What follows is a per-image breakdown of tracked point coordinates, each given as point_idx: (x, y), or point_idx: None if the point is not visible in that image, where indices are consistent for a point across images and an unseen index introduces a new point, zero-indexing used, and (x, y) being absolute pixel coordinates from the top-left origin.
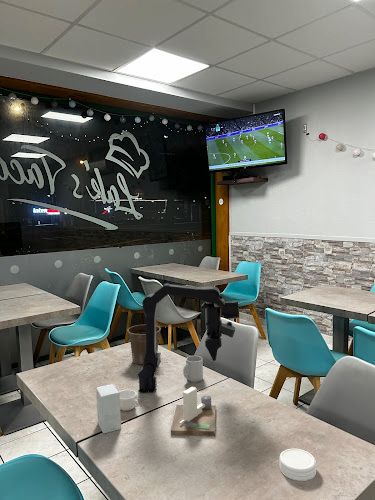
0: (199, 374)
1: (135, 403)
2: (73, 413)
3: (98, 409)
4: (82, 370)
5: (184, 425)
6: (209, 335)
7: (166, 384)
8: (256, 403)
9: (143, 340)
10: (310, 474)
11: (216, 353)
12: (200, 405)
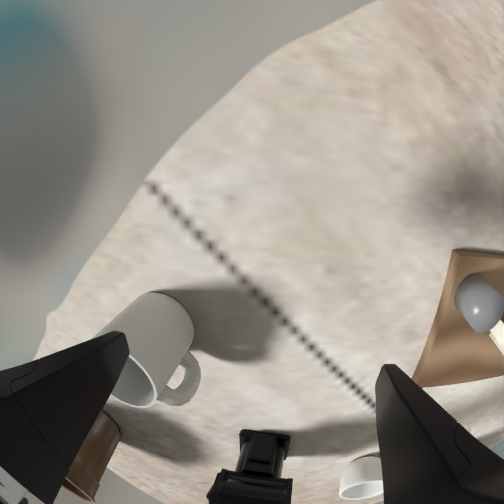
0: (172, 322)
1: (378, 463)
2: (358, 500)
3: None
4: (180, 494)
5: None
6: (39, 496)
7: (227, 408)
8: (409, 61)
9: (90, 479)
10: None
11: (456, 426)
12: (496, 324)
